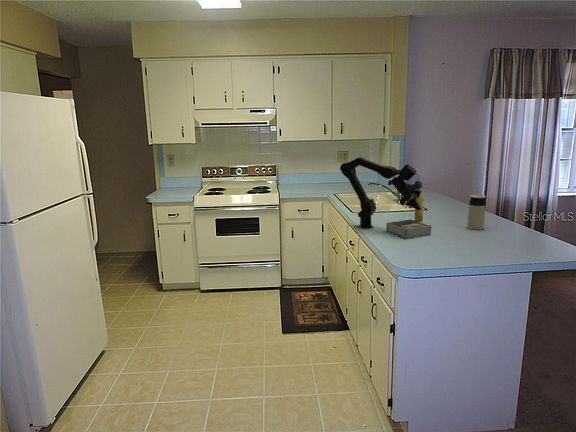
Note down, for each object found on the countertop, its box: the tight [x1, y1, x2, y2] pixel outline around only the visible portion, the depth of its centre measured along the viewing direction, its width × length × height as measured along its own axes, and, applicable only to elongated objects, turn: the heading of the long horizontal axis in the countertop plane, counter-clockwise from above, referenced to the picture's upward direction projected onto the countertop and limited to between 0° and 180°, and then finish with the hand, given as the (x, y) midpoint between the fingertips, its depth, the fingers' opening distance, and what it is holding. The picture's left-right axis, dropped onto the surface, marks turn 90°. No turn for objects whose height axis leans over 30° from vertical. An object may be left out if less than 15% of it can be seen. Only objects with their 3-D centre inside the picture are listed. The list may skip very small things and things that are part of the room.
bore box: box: [385, 218, 432, 240], centre depth 215 cm, size 16×16×5 cm
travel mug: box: [467, 194, 487, 231], centre depth 219 cm, size 8×8×18 cm
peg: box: [414, 196, 425, 223], centre depth 210 cm, size 4×4×12 cm
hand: (421, 209), depth 210 cm, fingers closed on peg, 4 cm apart
